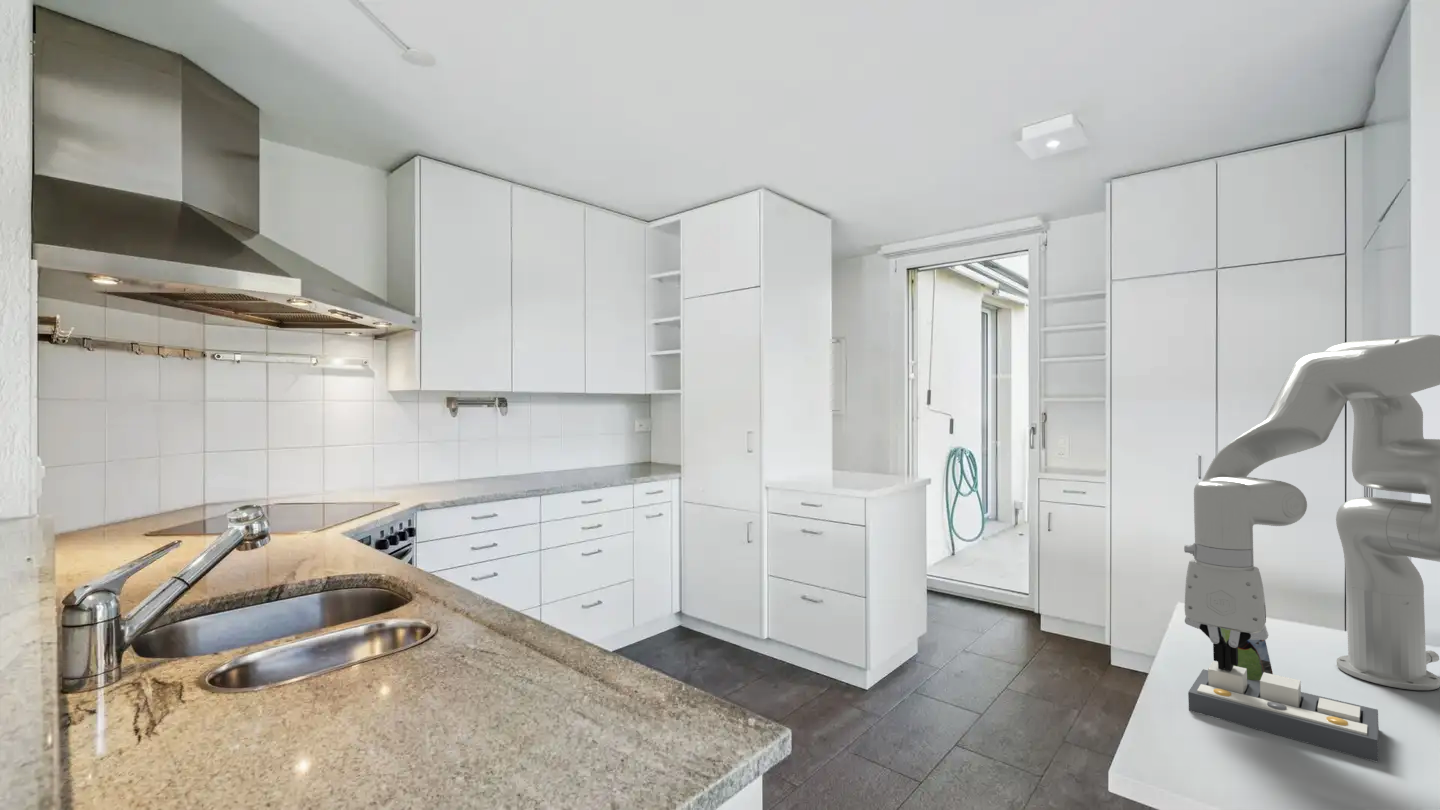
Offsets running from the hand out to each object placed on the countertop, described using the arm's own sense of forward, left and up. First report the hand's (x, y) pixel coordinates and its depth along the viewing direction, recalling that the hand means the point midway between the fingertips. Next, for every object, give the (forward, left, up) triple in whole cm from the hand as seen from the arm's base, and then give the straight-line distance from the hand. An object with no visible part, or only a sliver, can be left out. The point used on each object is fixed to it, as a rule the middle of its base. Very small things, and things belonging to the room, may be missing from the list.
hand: (1225, 667), depth 102 cm
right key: (-7, +11, -5) cm, 14 cm away
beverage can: (-12, -6, -6) cm, 15 cm away
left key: (0, 0, -3) cm, 3 cm away
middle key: (-4, +6, -3) cm, 7 cm away
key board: (-2, +6, -6) cm, 9 cm away
